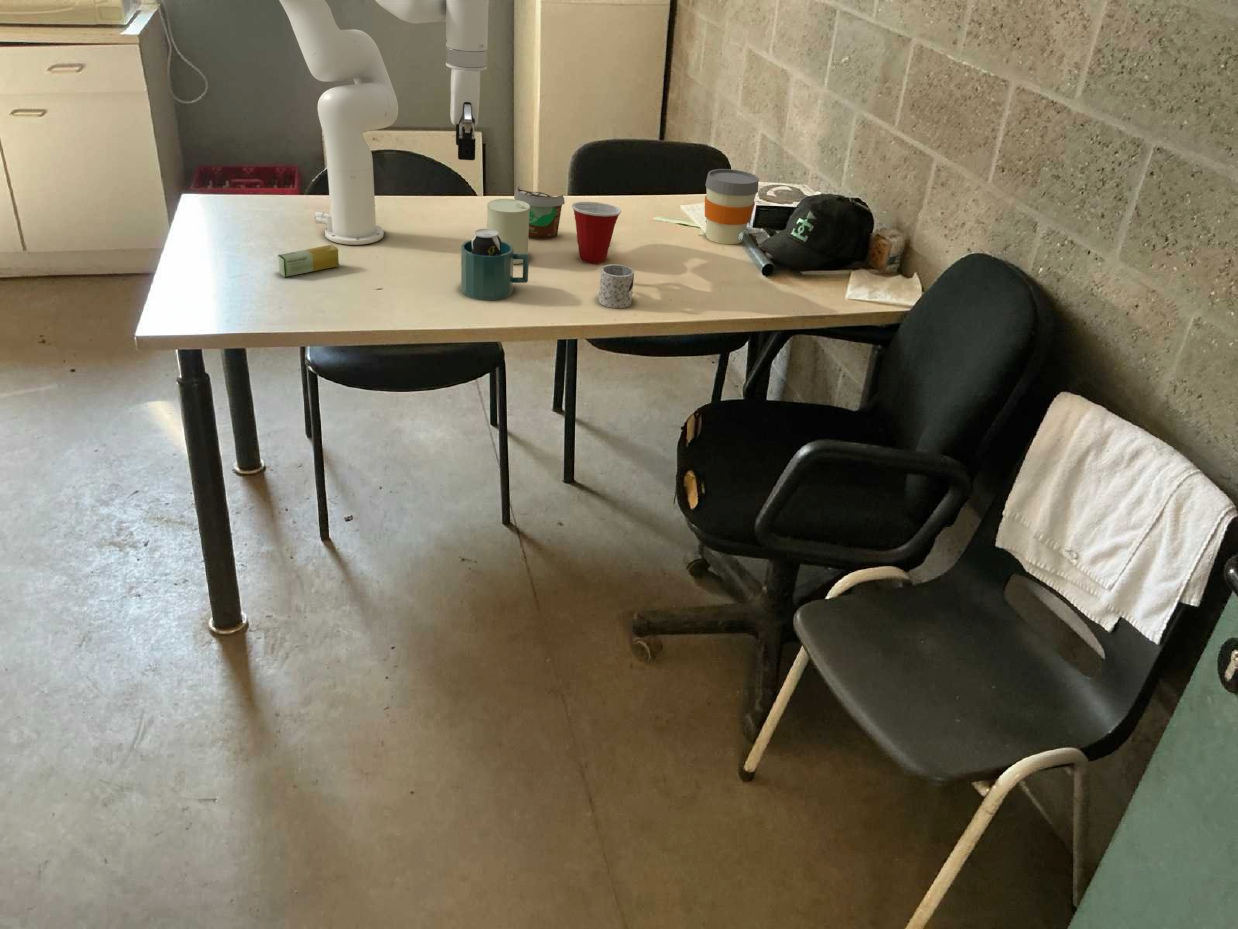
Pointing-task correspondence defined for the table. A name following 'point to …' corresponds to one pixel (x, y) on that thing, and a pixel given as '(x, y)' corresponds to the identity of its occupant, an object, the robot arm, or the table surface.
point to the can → (510, 223)
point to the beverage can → (486, 242)
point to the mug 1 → (490, 272)
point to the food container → (542, 213)
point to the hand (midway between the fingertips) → (465, 152)
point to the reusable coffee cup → (729, 204)
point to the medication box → (308, 260)
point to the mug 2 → (616, 286)
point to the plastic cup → (594, 229)
